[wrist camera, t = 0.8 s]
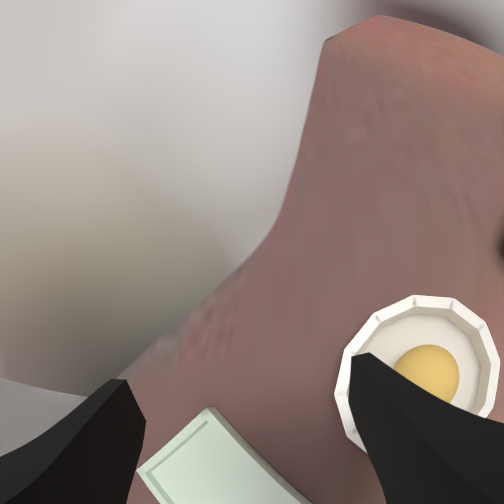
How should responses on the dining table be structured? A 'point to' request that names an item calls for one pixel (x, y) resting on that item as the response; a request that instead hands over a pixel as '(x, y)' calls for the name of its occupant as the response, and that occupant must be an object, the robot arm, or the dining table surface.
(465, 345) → the bowl
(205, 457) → the tray
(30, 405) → the cylinder vase
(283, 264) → the dining table surface
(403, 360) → the ball
